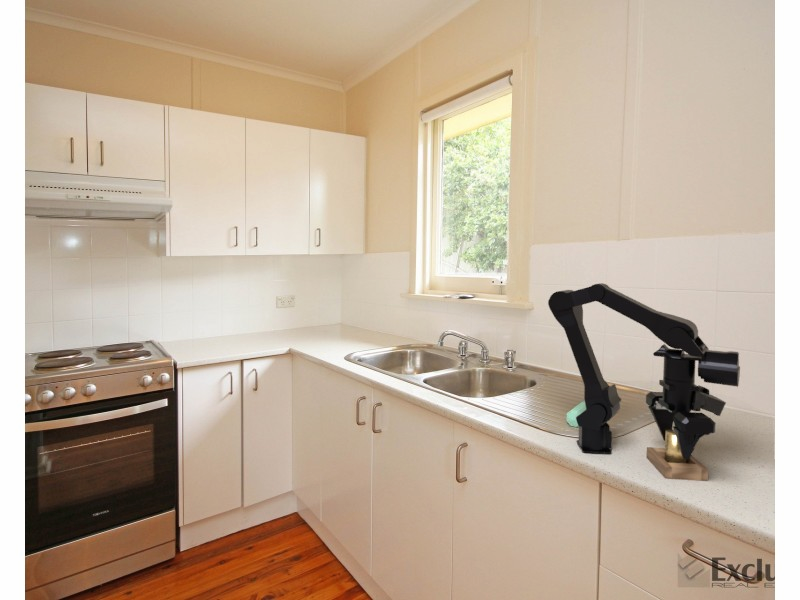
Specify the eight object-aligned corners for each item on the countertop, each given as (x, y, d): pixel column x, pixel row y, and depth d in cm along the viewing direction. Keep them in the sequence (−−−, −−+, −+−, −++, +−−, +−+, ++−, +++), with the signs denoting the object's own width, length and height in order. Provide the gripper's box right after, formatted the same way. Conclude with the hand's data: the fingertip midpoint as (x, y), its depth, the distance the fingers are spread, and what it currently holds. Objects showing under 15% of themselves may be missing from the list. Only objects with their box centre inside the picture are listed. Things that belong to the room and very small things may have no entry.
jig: (665, 478, 93) (665, 466, 93) (646, 457, 103) (646, 447, 103) (707, 480, 92) (707, 469, 92) (684, 459, 102) (684, 448, 101)
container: (578, 407, 120) (607, 385, 139) (558, 411, 124) (589, 389, 143) (587, 429, 119) (614, 404, 138) (566, 432, 123) (596, 407, 142)
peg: (669, 472, 96) (670, 435, 95) (661, 464, 100) (662, 429, 99) (689, 473, 95) (691, 436, 94) (680, 464, 99) (682, 429, 98)
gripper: (747, 392, 85) (743, 471, 87) (697, 368, 104) (694, 434, 105) (683, 390, 87) (680, 468, 88) (646, 367, 105) (644, 432, 107)
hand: (675, 449), depth 97 cm, fingers open, 9 cm apart
